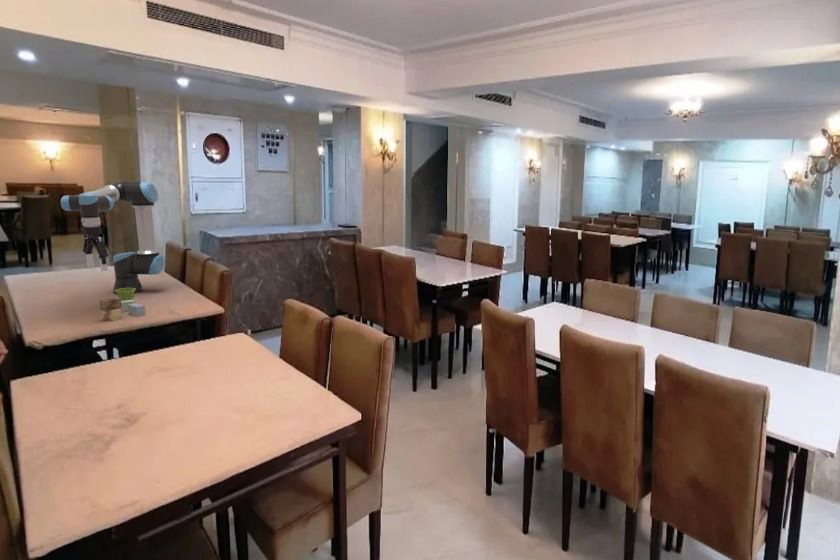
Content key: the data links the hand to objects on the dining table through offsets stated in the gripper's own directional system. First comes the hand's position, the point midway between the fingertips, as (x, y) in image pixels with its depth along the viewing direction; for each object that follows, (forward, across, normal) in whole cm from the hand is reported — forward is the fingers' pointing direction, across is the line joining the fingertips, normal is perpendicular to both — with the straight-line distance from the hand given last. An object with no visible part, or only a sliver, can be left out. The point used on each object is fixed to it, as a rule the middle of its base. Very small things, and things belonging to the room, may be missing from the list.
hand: (97, 268), depth 250 cm
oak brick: (+23, +11, -1) cm, 26 cm away
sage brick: (+24, +2, +10) cm, 26 cm away
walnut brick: (+18, +11, -1) cm, 22 cm away
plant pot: (+24, -8, +16) cm, 30 cm away
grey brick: (+24, +13, +10) cm, 29 cm away
